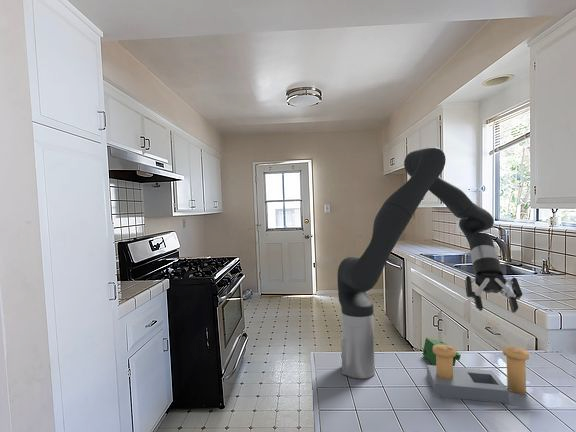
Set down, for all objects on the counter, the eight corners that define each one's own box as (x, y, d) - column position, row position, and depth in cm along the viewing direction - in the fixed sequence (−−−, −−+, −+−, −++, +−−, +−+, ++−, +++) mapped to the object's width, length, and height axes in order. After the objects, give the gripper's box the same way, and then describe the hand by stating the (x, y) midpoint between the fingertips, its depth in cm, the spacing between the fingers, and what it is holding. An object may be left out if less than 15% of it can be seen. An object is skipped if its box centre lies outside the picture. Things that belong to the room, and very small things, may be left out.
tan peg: (509, 394, 82) (508, 354, 82) (500, 383, 87) (499, 345, 87) (534, 396, 81) (533, 356, 81) (523, 385, 86) (522, 347, 86)
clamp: (452, 383, 96) (465, 360, 93) (432, 378, 96) (444, 356, 93) (438, 352, 107) (449, 331, 104) (420, 348, 107) (431, 327, 104)
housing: (435, 395, 81) (434, 355, 82) (427, 375, 92) (426, 340, 92) (509, 403, 78) (508, 361, 78) (492, 381, 88) (491, 344, 88)
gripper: (463, 256, 104) (472, 303, 94) (514, 256, 100) (530, 306, 90) (459, 268, 109) (468, 314, 99) (508, 269, 105) (522, 317, 95)
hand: (497, 310), depth 94 cm, fingers open, 8 cm apart
